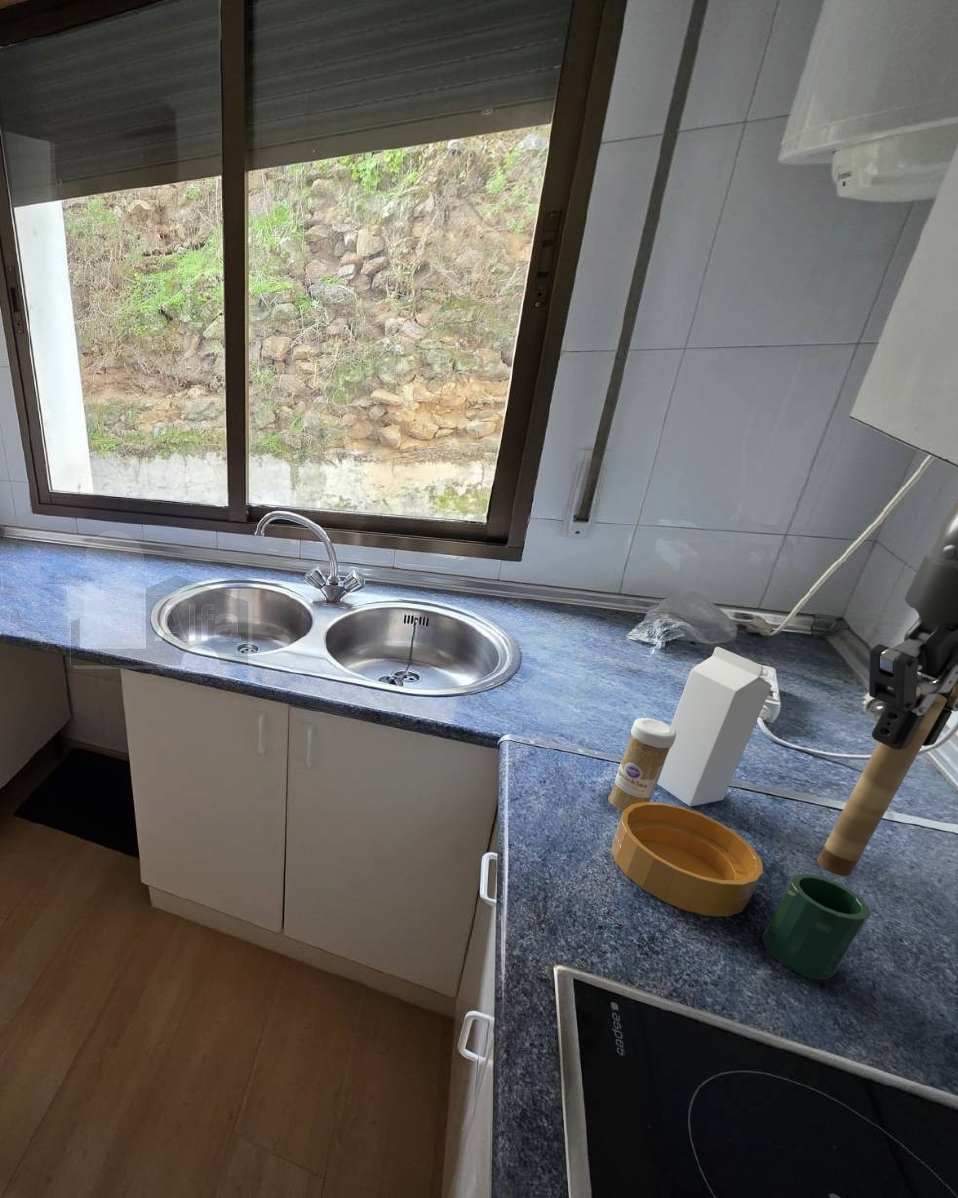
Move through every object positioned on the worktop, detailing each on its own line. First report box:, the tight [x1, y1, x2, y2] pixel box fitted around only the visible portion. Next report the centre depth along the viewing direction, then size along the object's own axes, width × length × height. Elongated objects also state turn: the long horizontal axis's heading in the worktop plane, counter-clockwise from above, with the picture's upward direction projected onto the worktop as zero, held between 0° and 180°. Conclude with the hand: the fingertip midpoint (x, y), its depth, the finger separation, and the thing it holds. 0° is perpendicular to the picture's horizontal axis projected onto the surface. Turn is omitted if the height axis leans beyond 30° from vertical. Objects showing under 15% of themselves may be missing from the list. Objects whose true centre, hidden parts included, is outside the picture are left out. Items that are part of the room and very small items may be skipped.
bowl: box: [610, 801, 764, 918], centre depth 76 cm, size 13×13×6 cm
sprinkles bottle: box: [607, 717, 676, 812], centre depth 85 cm, size 5×5×13 cm
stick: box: [816, 687, 947, 877], centre depth 59 cm, size 2×2×20 cm
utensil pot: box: [761, 873, 871, 980], centre depth 65 cm, size 6×6×9 cm
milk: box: [657, 646, 773, 807], centre depth 87 cm, size 6×6×22 cm
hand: (901, 741), depth 57 cm, fingers closed on stick, 2 cm apart
